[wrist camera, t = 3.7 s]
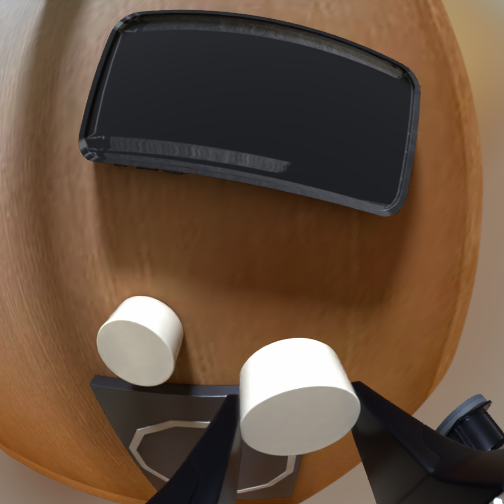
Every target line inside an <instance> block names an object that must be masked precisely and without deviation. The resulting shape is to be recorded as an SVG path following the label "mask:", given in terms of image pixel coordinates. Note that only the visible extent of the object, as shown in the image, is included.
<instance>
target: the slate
mask: <svg viewBox="0 0 504 504" xmlns="http://www.w3.org/2000/svg"><path fill="white" fill-rule="evenodd" d="M90 386H91V388H92V390H93V392H94V394H95V396H96V398H97V400H98V402H99V404H100V406H101V408H102V410H103V411H104V413H105V415H106V417H107V419H108V420H109V422H110V424H111V426H112V427H113V429H114V431H115V432H116V434H117V436H118V437H119V439H120V440H121V442H122V443H123V445H124V447H125V448H126V450H127V451H128V453H129V454H130V456H131V457H132V458H133V460H134V461H135V463H136V464H137V465H138V467H139V468H140V470H141V471H142V472H143V474H144V475H145V476H146V478H147V479H148V480H149V481H150V483H151V484H152V485H153V486H154V488H155V489H156V490H157V491H159V490H160V489H161V488H162V487H163V486H164V485H165V484H166V483H167V482H168V481H169V479H170V478H171V477H172V476H173V475H174V474H175V472H176V471H177V470H178V468H179V467H180V466H181V464H182V463H183V461H184V460H186V457H187V456H188V454H189V453H190V451H191V450H192V448H193V447H194V445H195V444H196V443H197V441H198V440H199V438H200V437H201V435H202V434H203V432H204V430H205V429H206V427H207V426H208V424H209V423H210V421H211V420H212V418H213V417H214V415H215V414H216V412H217V410H218V409H219V407H220V406H221V404H222V403H223V401H224V399H225V398H226V396H227V395H228V394H239V385H181V384H165V383H162V384H159V385H156V386H140V385H136V384H132V383H130V382H127V381H125V380H123V379H117V378H110V377H104V376H97V375H95V376H94V378H93V379H92V381H91V382H90ZM301 458H302V454H300V455H291V456H280V455H271V454H266V453H262V452H260V451H257V450H255V449H253V448H251V447H250V446H248V445H247V444H246V443H245V442H244V440H243V439H242V454H241V462H240V471H239V479H238V487H237V496H236V500H252V499H270V498H282V497H291V496H292V493H293V489H294V486H295V482H296V478H297V474H298V470H299V466H300V462H301Z"/></svg>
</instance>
